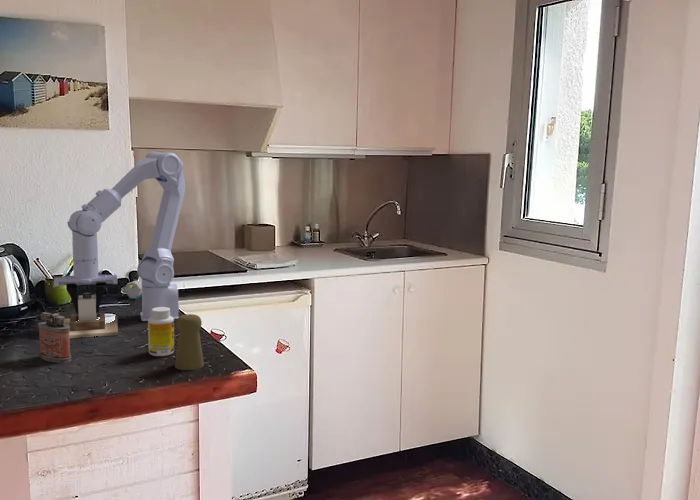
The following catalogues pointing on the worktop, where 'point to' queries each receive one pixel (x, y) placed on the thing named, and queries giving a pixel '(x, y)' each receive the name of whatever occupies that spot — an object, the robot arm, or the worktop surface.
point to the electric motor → (133, 289)
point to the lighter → (54, 338)
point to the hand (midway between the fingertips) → (87, 312)
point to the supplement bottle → (161, 332)
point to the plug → (87, 307)
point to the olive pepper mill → (189, 343)
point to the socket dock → (91, 326)
